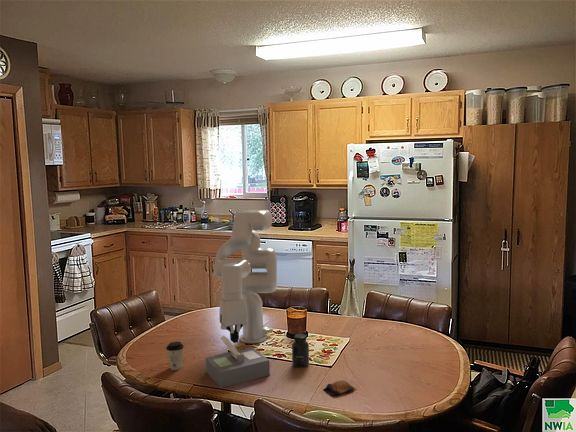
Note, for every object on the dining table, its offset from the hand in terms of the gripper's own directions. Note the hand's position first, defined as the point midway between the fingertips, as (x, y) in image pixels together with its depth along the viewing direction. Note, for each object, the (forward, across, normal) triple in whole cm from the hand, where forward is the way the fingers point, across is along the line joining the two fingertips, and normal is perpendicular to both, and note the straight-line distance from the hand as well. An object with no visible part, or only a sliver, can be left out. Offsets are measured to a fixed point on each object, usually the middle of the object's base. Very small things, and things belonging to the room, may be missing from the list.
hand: (234, 341), depth 188 cm
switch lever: (+7, -1, 0) cm, 7 cm away
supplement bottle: (+13, -26, +6) cm, 29 cm away
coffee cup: (+13, +19, -19) cm, 30 cm away
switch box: (+13, -1, 0) cm, 13 cm away
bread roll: (+14, -26, +32) cm, 44 cm away
